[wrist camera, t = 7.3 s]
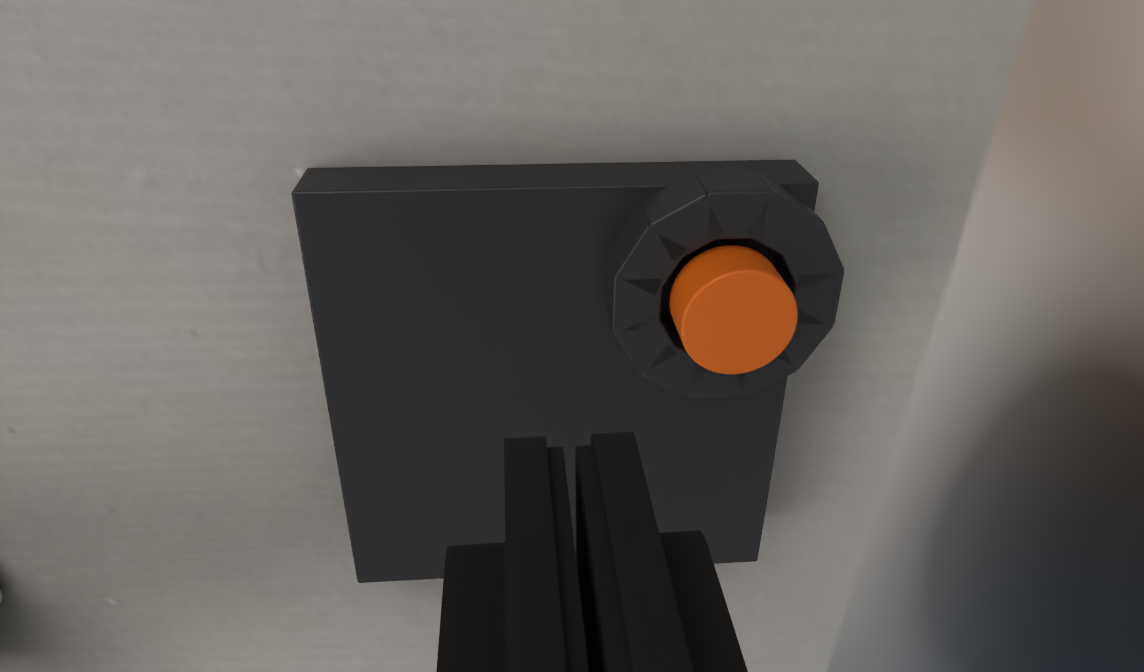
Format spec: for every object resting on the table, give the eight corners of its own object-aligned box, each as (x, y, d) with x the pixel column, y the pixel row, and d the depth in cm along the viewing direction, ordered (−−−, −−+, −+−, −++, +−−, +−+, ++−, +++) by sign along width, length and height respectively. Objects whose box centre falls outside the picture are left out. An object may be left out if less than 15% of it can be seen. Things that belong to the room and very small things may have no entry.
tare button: (672, 245, 19) (685, 272, 18) (786, 242, 20) (807, 269, 18) (664, 345, 21) (676, 377, 20) (771, 342, 21) (790, 373, 20)
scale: (304, 154, 21) (271, 201, 18) (810, 146, 22) (860, 189, 19) (365, 541, 27) (349, 624, 24) (752, 521, 28) (782, 598, 25)
